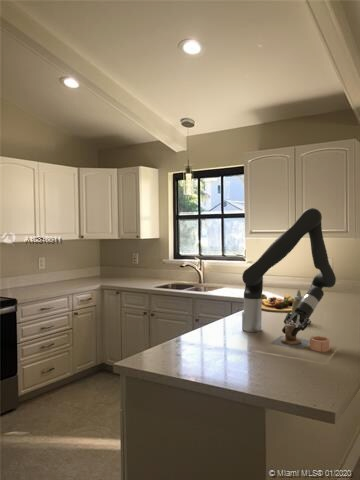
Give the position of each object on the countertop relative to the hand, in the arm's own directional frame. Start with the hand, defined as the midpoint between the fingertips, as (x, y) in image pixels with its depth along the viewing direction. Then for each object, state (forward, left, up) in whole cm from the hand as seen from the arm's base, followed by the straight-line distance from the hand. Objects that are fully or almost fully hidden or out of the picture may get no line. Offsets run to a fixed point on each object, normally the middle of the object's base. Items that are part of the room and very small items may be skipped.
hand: (287, 333), depth 188 cm
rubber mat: (+1, +2, -5) cm, 5 cm away
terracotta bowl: (+15, -1, -5) cm, 16 cm away
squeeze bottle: (-8, +46, -5) cm, 47 cm away
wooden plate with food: (-31, +77, -5) cm, 83 cm away
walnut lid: (+1, +2, -4) cm, 5 cm away
